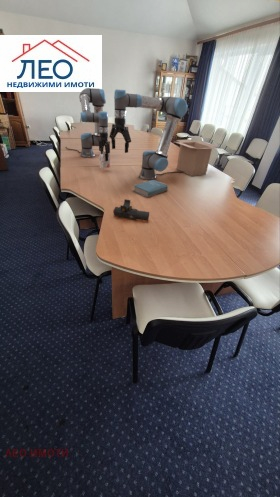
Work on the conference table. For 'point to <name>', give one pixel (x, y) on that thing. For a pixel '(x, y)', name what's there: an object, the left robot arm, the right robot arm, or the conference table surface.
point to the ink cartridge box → (104, 160)
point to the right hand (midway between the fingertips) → (119, 150)
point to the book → (150, 188)
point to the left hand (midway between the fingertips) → (104, 160)
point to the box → (194, 157)
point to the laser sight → (130, 212)
